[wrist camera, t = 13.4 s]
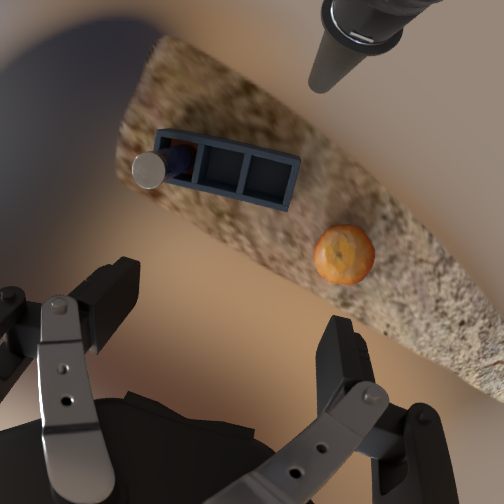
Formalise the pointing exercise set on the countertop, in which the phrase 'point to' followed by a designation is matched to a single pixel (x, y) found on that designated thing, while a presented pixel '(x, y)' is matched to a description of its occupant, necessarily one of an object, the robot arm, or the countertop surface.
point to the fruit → (344, 255)
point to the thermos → (162, 165)
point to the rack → (234, 169)
